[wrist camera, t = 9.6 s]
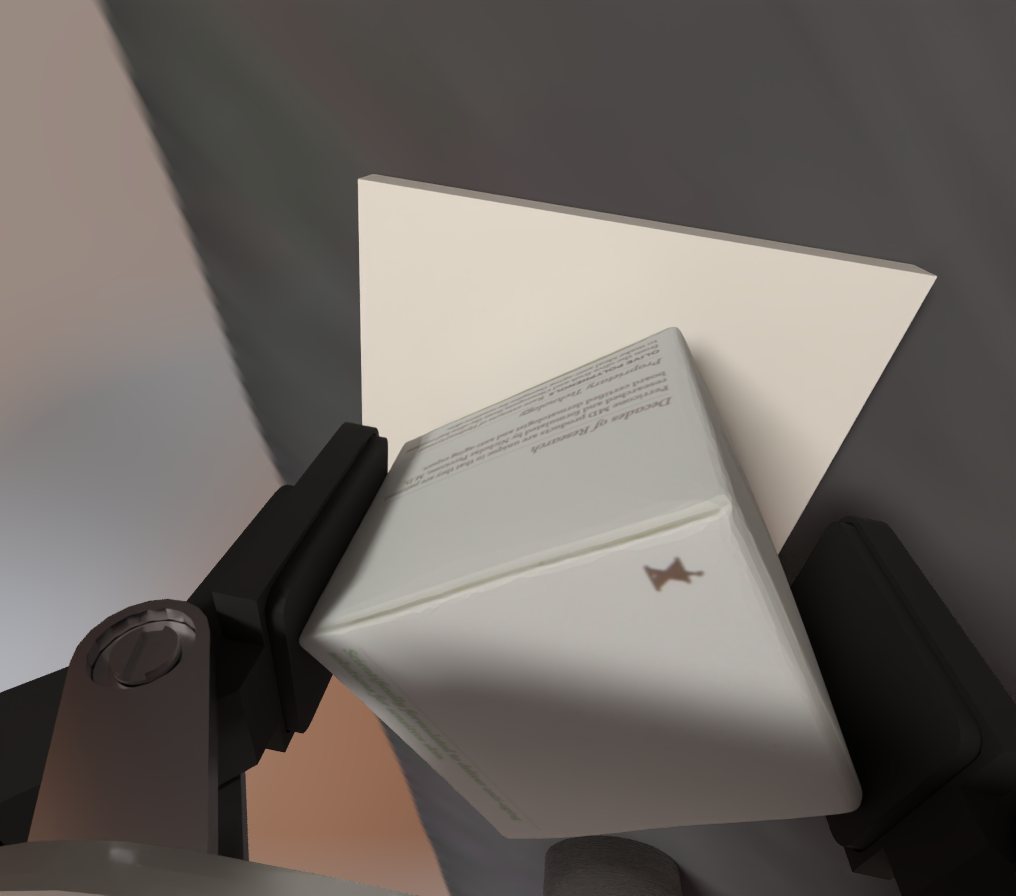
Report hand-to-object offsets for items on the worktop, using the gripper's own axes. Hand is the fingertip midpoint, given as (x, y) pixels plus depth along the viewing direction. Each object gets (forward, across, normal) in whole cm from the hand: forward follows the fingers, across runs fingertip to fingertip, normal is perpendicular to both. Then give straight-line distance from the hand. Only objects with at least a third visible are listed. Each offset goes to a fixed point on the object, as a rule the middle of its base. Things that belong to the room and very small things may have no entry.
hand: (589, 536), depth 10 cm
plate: (+3, 0, 0) cm, 3 cm away
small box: (+1, 0, 0) cm, 1 cm away
